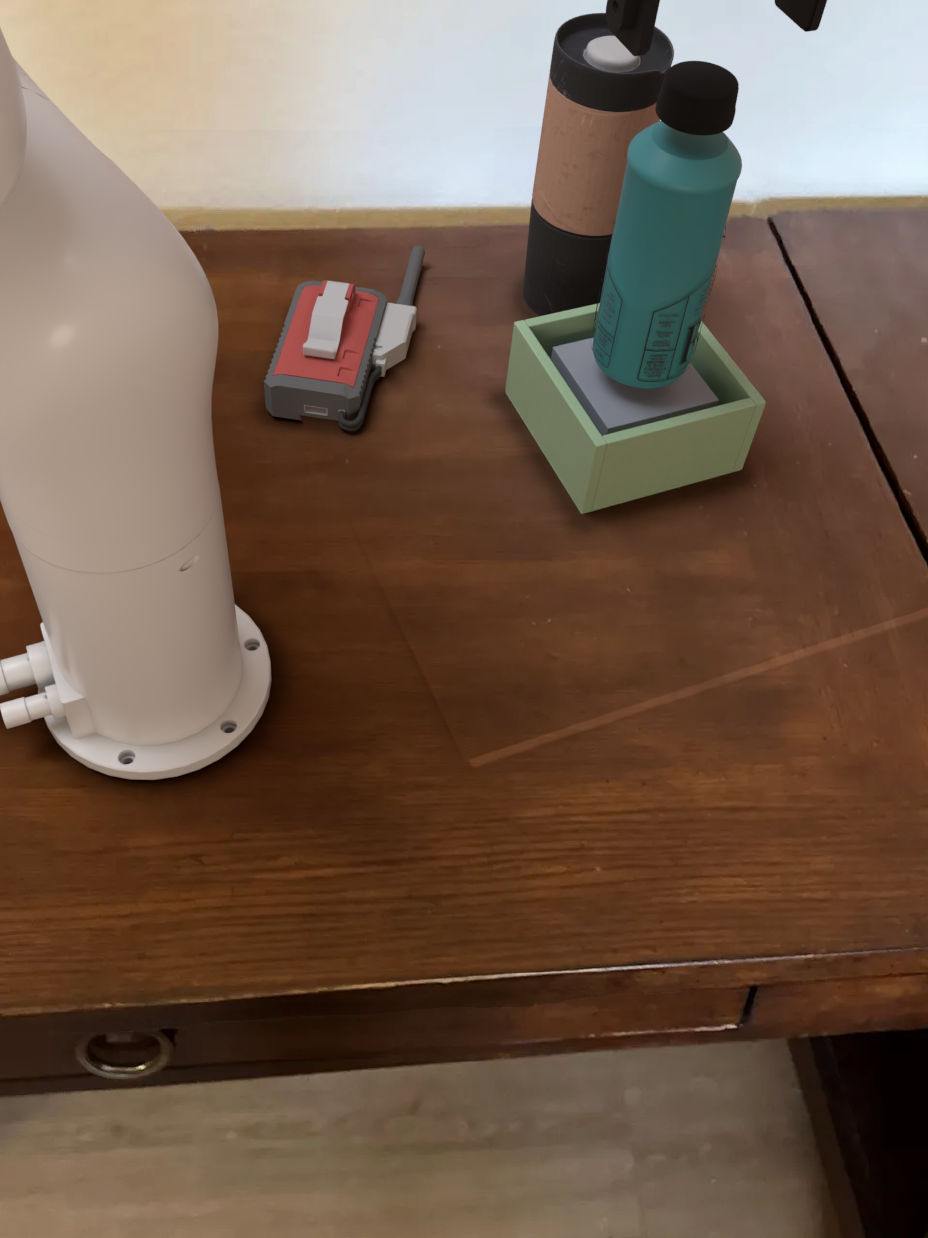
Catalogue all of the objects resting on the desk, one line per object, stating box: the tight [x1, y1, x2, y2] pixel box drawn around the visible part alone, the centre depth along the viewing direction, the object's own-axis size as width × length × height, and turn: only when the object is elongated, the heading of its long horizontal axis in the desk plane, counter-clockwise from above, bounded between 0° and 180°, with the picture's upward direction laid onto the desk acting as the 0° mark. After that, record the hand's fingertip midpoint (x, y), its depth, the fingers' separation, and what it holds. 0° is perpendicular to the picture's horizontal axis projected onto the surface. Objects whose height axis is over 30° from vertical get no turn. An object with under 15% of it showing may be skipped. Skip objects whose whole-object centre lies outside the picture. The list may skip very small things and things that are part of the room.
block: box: [551, 338, 719, 436], centre depth 80 cm, size 8×8×5 cm
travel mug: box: [522, 12, 675, 317], centre depth 83 cm, size 8×8×20 cm
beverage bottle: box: [591, 60, 743, 388], centre depth 70 cm, size 6×7×20 cm
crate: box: [504, 303, 767, 515], centre depth 80 cm, size 12×12×7 cm
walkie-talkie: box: [263, 245, 426, 432], centre depth 85 cm, size 9×4×20 cm
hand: (712, 29), depth 60 cm, fingers open, 9 cm apart
